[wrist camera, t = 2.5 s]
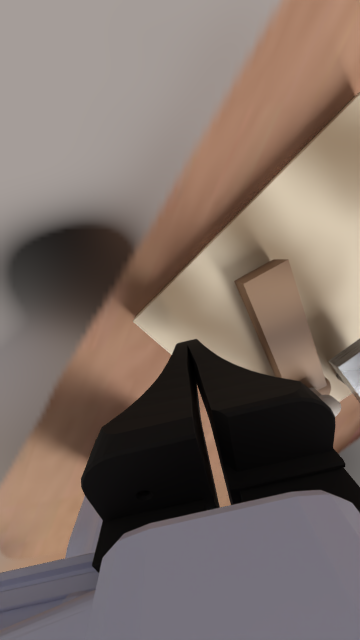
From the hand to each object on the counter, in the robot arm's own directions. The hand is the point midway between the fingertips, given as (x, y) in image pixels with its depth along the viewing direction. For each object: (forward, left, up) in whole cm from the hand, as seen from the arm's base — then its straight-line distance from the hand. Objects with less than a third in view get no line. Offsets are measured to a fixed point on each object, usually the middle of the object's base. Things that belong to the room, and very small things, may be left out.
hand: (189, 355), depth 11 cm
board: (+8, -6, -5) cm, 11 cm away
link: (+5, -6, -3) cm, 8 cm away
